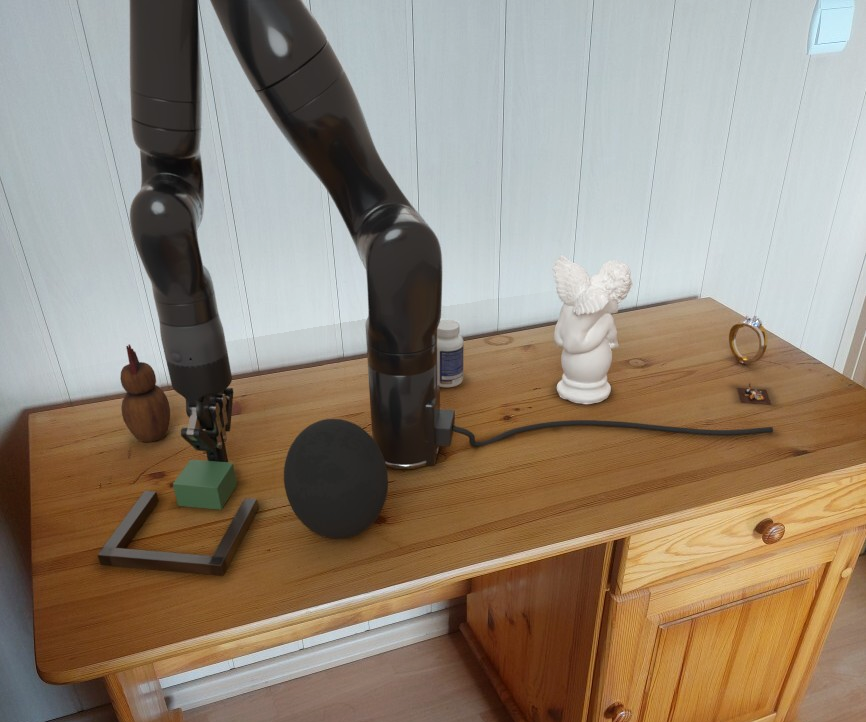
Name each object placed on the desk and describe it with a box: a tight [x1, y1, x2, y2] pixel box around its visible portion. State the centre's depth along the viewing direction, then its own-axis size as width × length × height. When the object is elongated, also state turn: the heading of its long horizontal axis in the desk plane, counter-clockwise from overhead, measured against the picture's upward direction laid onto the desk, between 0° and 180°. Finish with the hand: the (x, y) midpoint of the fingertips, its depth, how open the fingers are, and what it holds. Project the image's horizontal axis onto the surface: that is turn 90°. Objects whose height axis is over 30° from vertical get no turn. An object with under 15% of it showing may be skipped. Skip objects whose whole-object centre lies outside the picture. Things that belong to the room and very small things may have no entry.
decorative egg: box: [283, 418, 389, 540], centre depth 98 cm, size 12×12×15 cm
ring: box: [728, 315, 769, 365], centre depth 136 cm, size 7×3×8 cm, turn 26°
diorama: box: [736, 382, 772, 405], centre depth 129 cm, size 3×4×2 cm
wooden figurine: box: [119, 343, 171, 443], centre depth 116 cm, size 7×6×15 cm
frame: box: [97, 490, 259, 577], centre depth 101 cm, size 15×14×2 cm
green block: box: [172, 458, 238, 511], centre depth 107 cm, size 6×6×4 cm
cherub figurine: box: [552, 254, 633, 405], centre depth 122 cm, size 12×12×22 cm
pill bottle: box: [437, 319, 465, 389], centre depth 131 cm, size 5×5×10 cm
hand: (219, 467), depth 112 cm, fingers closed
